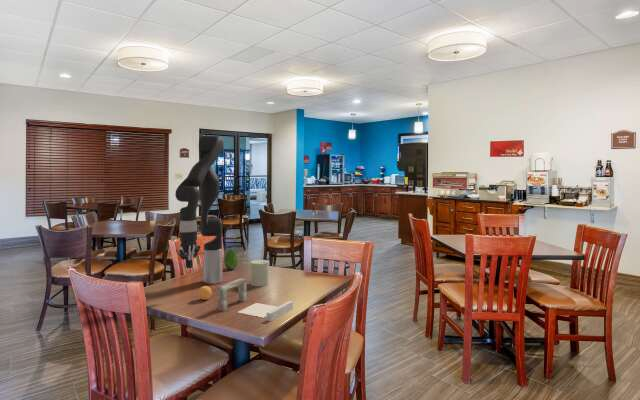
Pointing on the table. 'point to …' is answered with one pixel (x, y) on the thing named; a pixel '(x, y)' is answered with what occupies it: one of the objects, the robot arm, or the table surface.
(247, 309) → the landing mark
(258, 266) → the can
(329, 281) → the table surface
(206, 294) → the ball
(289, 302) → the wall
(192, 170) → the robot arm
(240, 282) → the bridge
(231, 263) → the avocado
